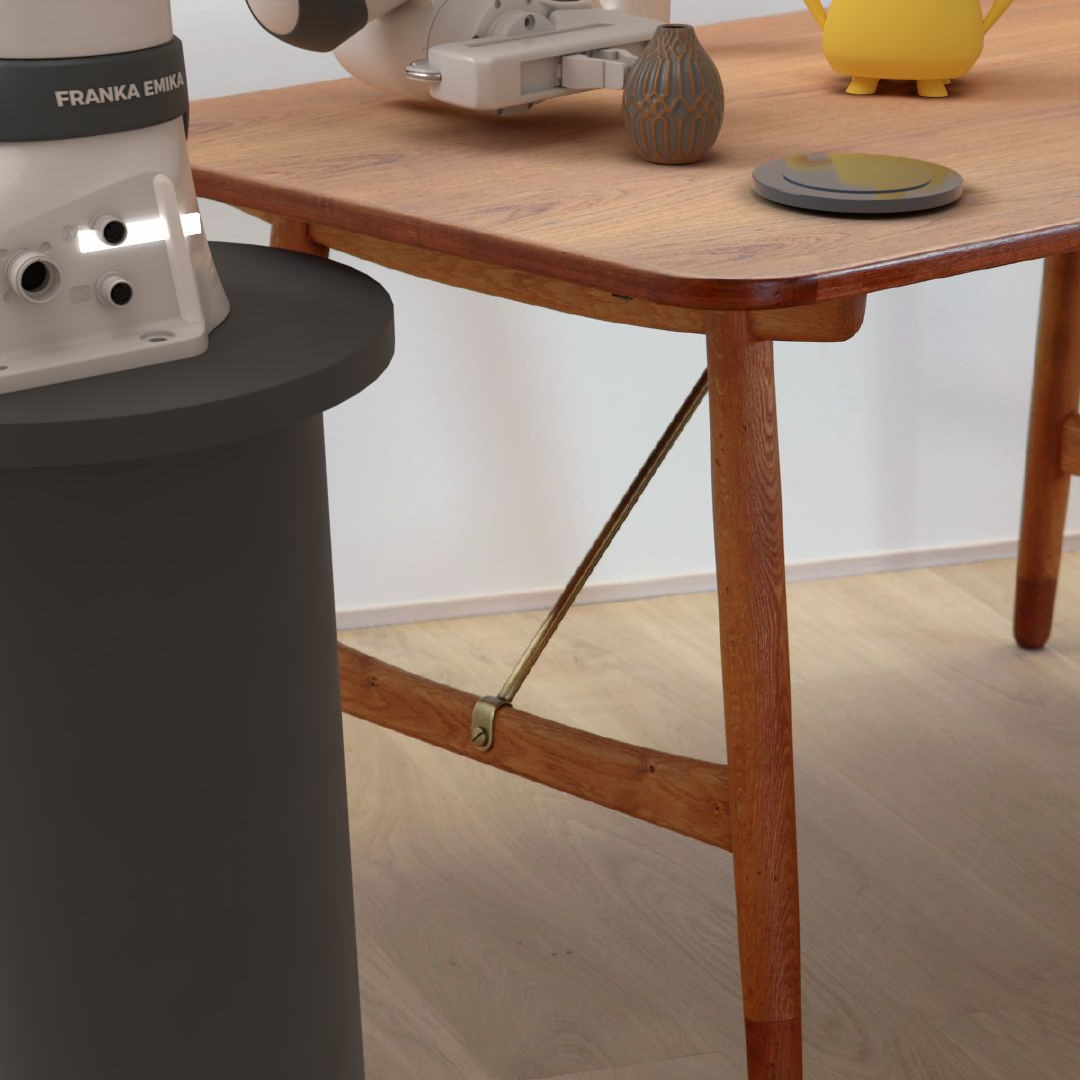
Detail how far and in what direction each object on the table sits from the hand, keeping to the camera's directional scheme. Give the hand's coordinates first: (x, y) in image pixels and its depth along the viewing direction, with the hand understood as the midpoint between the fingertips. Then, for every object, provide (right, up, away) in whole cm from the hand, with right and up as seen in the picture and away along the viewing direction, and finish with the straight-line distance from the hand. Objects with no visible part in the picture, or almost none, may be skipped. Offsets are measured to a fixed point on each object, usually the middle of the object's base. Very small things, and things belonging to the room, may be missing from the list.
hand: (637, 74), depth 119 cm
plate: (+13, -10, -10) cm, 19 cm away
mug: (+1, +12, +40) cm, 42 cm away
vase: (+2, -6, 0) cm, 6 cm away
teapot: (+23, +6, +26) cm, 35 cm away
